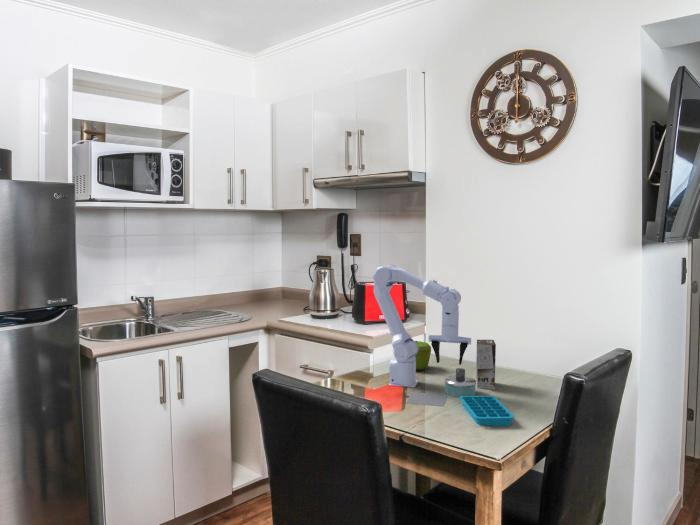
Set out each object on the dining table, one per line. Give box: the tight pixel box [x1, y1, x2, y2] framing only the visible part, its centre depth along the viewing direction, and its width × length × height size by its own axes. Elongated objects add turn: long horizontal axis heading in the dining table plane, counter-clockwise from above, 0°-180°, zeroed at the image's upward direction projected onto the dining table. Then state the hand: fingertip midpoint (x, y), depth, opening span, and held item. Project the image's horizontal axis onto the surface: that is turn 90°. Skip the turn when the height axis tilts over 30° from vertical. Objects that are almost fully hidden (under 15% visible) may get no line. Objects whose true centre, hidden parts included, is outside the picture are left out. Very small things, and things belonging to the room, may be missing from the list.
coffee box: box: [475, 339, 497, 390], centre depth 195 cm, size 9×6×16 cm
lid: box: [444, 367, 477, 387], centre depth 185 cm, size 10×10×5 cm
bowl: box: [444, 382, 476, 398], centre depth 186 cm, size 10×10×4 cm
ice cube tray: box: [459, 395, 515, 427], centre depth 165 cm, size 12×20×3 cm, turn 3°
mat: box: [405, 391, 448, 407], centre depth 179 cm, size 12×12×1 cm
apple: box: [414, 340, 432, 371], centre depth 219 cm, size 12×12×11 cm
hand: (449, 363), depth 189 cm, fingers open, 7 cm apart
